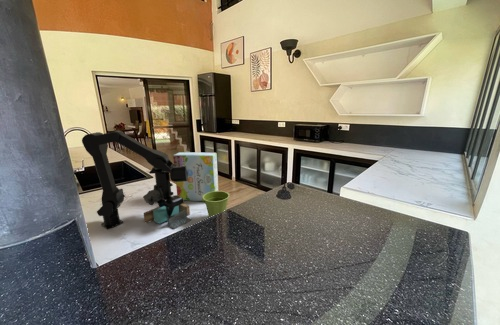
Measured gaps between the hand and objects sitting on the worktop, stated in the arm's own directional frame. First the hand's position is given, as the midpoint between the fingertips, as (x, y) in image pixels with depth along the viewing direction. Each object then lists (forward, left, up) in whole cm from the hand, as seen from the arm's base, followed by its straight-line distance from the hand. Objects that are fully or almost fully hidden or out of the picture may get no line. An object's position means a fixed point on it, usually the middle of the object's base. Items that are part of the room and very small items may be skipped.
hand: (166, 214), depth 94 cm
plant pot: (+17, +14, -3) cm, 23 cm away
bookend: (+7, +2, -2) cm, 8 cm away
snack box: (-7, +24, -3) cm, 25 cm away
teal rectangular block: (0, 0, -1) cm, 1 cm away
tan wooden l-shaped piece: (0, +1, -2) cm, 3 cm away
